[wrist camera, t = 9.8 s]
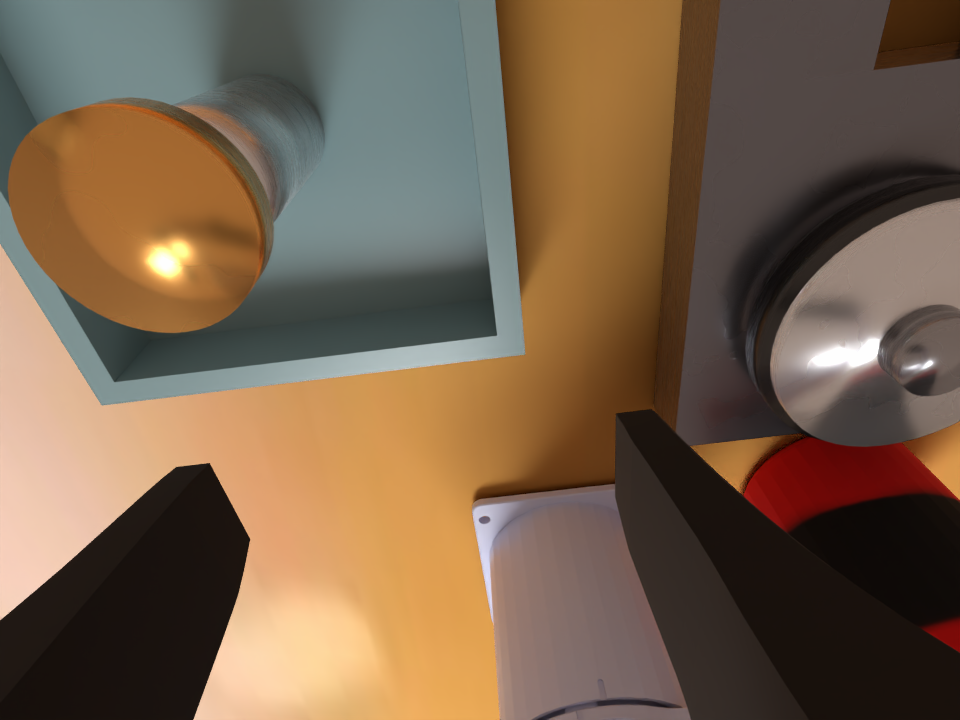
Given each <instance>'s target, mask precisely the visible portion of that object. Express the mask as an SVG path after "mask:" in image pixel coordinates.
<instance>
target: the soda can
mask: <svg viewBox="0 0 960 720" xmlns="http://www.w3.org/2000/svg"><path fill="white" fill-rule="evenodd" d="M743 496H744V497H745V498H746V499H747V500H748V501H749V502H750V503H752V504H753V505H754V506H755V507H756V508H758V509H759V510H760V511H761V512H762V513H763V514H765V515H766V516H767V517H768V518H769V519H770V520H772V521H773V522H774V523H775V524H777V525H778V526H779V527H780V528H782V529H783V530H784V531H785V532H787V533H788V534H789V535H790V536H791V537H793V538H794V539H795V540H796V541H798V542H799V543H800V544H801V545H803V546H804V547H805V548H807V549H808V550H809V551H811V552H812V553H813V554H814V555H816V556H817V557H818V558H820V559H821V560H822V561H824V562H825V563H826V564H828V565H829V566H830V567H832V568H833V569H834V570H836V571H837V572H839V573H840V574H841V575H843V576H844V577H846V578H847V579H848V580H850V581H851V582H853V583H854V584H855V585H857V586H858V587H860V588H861V589H862V590H864V591H865V592H867V593H868V594H869V595H871V596H872V597H874V598H875V599H877V600H878V601H880V602H881V603H883V604H884V605H886V606H887V607H889V608H890V609H892V610H893V611H895V612H896V613H898V614H899V615H901V616H902V617H904V618H905V619H907V620H908V621H910V622H911V623H913V624H915V625H916V626H918V627H920V628H921V629H923V630H924V631H926V632H928V633H929V634H931V635H932V636H934V637H936V638H937V639H939V640H940V641H942V642H944V643H945V644H947V645H949V646H950V647H952V648H953V649H955V650H957V651H958V652H960V500H959V499H958V498H957V497H956V496H955V495H954V494H953V493H952V492H951V491H950V490H949V489H948V488H947V487H946V486H945V485H944V484H943V483H942V482H941V481H940V480H939V479H938V478H937V477H936V476H935V475H934V474H933V473H932V472H931V471H930V470H929V469H928V468H927V467H926V466H925V465H924V464H923V463H922V462H921V461H920V460H919V459H918V458H917V457H916V456H915V455H914V454H913V453H912V452H911V451H910V450H909V449H908V448H907V447H905V446H904V445H903V444H902V443H901V442H900V443H895V444H889V445H882V446H868V447H861V446H846V445H840V444H834V443H831V442H827V441H822V440H819V439H815V438H812V437H806V438H804V439H801V440H799V441H797V442H794V443H792V444H790V445H789V446H787V447H785V448H784V449H782V450H780V451H778V452H777V453H776V454H774V455H773V456H772V457H771V458H769V459H768V460H767V461H765V463H764V464H763V465H762V466H761V467H760V468H759V469H758V470H757V471H756V472H755V474H754V475H753V477H752V478H751V479H750V481H749V483H748V485H747V488H746V490H745V493H744V495H743Z"/></svg>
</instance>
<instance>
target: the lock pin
mask: <svg viewBox="0 0 960 720" xmlns="http://www.w3.org/2000/svg"><path fill="white" fill-rule="evenodd" d="M324 147H325V135H324V129H323V125H322V121H321V119H320V116H319V114H318V112H317V110H316V108H315V107H314V105H313V104H312V102H311V101H310V100H309V98H308V97H307V96H306V95H305V94H304V93H303V92H302V91H301V90H299V89H298V88H297V87H296V86H294V85H293V84H291V83H290V82H288V81H286V80H284V79H281V78H279V77H276V76H272V75H266V74H253V75H249V76H245V77H242V78H240V79H237V80H235V81H232V82H229V83H227V84H224V85H222V86H219V87H217V88H214V89H211V90H209V91H206V92H204V93H201V94H199V95H196V96H193V97H191V98H188V99H186V100H183V101H180V102H178V103H175V104H173V105H170V104H167V103H164V102H160V101H155V100H150V99H144V98H132V97H127V98H113V99H109V100H104V101H99V102H96V103H93V104H89V105H86V106H83V107H79V108H76V109H73V110H69V111H66V112H63V113H60V114H58V115H55V116H53V117H50V118H48V119H47V120H45V121H43V122H42V123H40V124H39V125H37V126H36V127H35V128H34V129H33V130H31V131H30V132H29V133H28V134H27V135H26V136H25V138H24V139H23V141H22V142H21V143H20V145H19V146H18V148H17V150H16V152H15V154H14V157H13V159H12V162H11V166H10V170H9V178H8V195H9V204H10V208H11V212H12V216H13V220H14V222H15V225H16V227H17V230H18V233H19V235H20V236H21V238H22V240H23V242H24V244H25V246H26V248H27V249H28V251H29V252H30V254H31V255H32V257H33V258H34V260H35V261H36V262H37V264H38V265H39V266H40V267H41V268H42V270H43V271H44V272H45V273H46V274H47V275H48V276H49V277H50V278H51V279H52V280H53V281H54V282H55V283H56V284H57V285H58V286H59V287H60V288H61V289H62V290H63V291H65V292H66V293H67V294H68V295H69V296H71V297H72V298H73V299H75V300H76V301H78V302H79V303H81V304H82V305H84V306H85V307H87V308H89V309H90V310H92V311H94V312H96V313H97V314H99V315H101V316H103V317H106V318H108V319H110V320H112V321H115V322H117V323H120V324H123V325H126V326H129V327H133V328H137V329H140V330H145V331H152V332H161V333H181V332H189V331H195V330H199V329H202V328H205V327H209V326H211V325H213V324H215V323H217V322H220V321H221V320H223V319H224V318H226V317H227V316H229V315H230V314H232V313H233V312H234V311H235V310H236V309H237V308H238V307H239V306H240V305H241V303H242V302H243V301H244V299H245V298H246V297H247V295H248V294H249V292H250V291H251V290H252V288H253V287H254V285H255V284H256V282H257V281H258V279H259V278H260V276H261V275H262V273H263V272H264V270H265V268H266V266H267V264H268V262H269V259H270V256H271V253H272V248H273V242H274V222H275V221H276V219H277V218H278V217H279V216H280V214H281V213H282V212H283V210H284V209H285V208H286V207H287V205H288V204H289V203H290V202H291V200H292V199H293V198H294V196H295V195H296V194H297V193H298V191H299V190H300V189H301V188H302V186H303V185H304V184H305V182H306V181H307V180H308V179H309V177H310V176H311V175H312V174H313V172H314V171H315V170H316V168H317V167H318V165H319V163H320V161H321V159H322V156H323V152H324Z"/></svg>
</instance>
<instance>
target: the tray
mask: <svg viewBox="0 0 960 720" xmlns="http://www.w3.org/2000/svg"><path fill="white" fill-rule="evenodd" d="M253 74H266V75H272V76H276V77H279V78H281V79H284V80H286V81H288V82H290V83H291V84H293V85H294V86H296V87H297V88H298V89H299V90H301V91H302V92H303V93H304V94H305V95H306V96H307V97H308V98H309V100H310V101H311V102H312V104H313V105H314V107H315V108H316V110H317V112H318V114H319V116H320V119H321V121H322V125H323V129H324V135H325V147H324V152H323V156H322V159H321V161H320V163H319V165H318V167H317V168H316V170H315V171H314V172H313V174H312V175H311V176H310V177H309V179H308V180H307V181H306V182H305V184H304V185H303V186H302V188H301V189H300V190H299V191H298V193H297V194H296V195H295V196H294V198H293V199H292V200H291V202H290V203H289V204H288V205H287V207H286V208H285V209H284V210H283V212H282V213H281V214H280V216H279V217H278V218H277V219H276V221H275V222H274V242H273V248H272V253H271V256H270V259H269V262H268V264H267V266H266V268H265V270H264V272H263V273H262V275H261V276H260V278H259V279H258V281H257V282H256V284H255V285H254V287H253V288H252V290H251V291H250V292H249V294H248V295H247V297H246V298H245V299H244V301H243V302H242V303H241V305H240V306H239V307H238V308H237V309H236V310H235V311H234V312H233V313H232V314H230V315H229V316H227V317H226V318H224V319H223V320H221V321H220V322H217V323H215V324H213V325H211V326H209V327H205V328H202V329H199V330H195V331H189V332H181V333H161V332H152V331H145V330H140V329H137V328H133V327H129V326H126V325H123V324H120V323H117V322H115V321H112V320H110V319H108V318H106V317H103V316H101V315H99V314H97V313H96V312H94V311H92V310H90V309H89V308H87V307H85V306H84V305H82V304H81V303H79V302H78V301H76V300H75V299H73V298H72V297H71V296H69V295H68V294H67V293H66V292H65V291H63V290H62V289H61V288H60V287H59V286H58V285H57V284H56V283H55V282H54V281H53V280H52V279H51V278H50V277H49V276H48V275H47V274H46V273H45V272H44V271H43V270H42V268H41V267H40V266H39V265H38V264H37V262H36V261H35V260H34V258H33V257H32V255H31V254H30V252H29V251H28V249H27V248H26V246H25V244H24V242H23V240H22V238H21V236H20V235H19V233H18V230H17V227H16V225H15V222H14V220H13V216H12V212H11V208H10V204H9V195H8V178H9V170H10V166H11V162H12V159H13V157H14V154H15V152H16V150H17V148H18V146H19V145H20V143H21V142H22V141H23V139H24V138H25V136H26V135H27V134H28V133H29V132H30V131H31V130H33V129H34V128H35V127H36V126H37V125H39V124H40V123H42V122H43V121H45V120H47V119H48V118H50V117H53V116H55V115H58V114H60V113H63V112H66V111H69V110H73V109H76V108H79V107H83V106H86V105H89V104H93V103H96V102H99V101H104V100H109V99H113V98H127V97H132V98H144V99H150V100H155V101H160V102H164V103H167V104H170V105H173V104H175V103H178V102H180V101H183V100H186V99H188V98H191V97H193V96H196V95H199V94H201V93H204V92H206V91H209V90H211V89H214V88H217V87H219V86H222V85H224V84H227V83H229V82H232V81H235V80H237V79H240V78H242V77H245V76H249V75H253ZM0 244H1V246H2V247H3V249H4V251H5V252H6V254H7V255H8V257H9V259H10V260H11V262H12V263H13V265H14V266H15V268H16V270H17V271H18V273H19V274H20V276H21V278H22V279H23V281H24V282H25V284H26V286H27V287H28V289H29V290H30V292H31V294H32V295H33V297H34V298H35V300H36V302H37V303H38V305H39V306H40V308H41V309H42V311H43V313H44V314H45V316H46V317H47V319H48V321H49V322H50V324H51V325H52V327H53V329H54V330H55V332H56V333H57V335H58V337H59V338H60V340H61V341H62V343H63V345H64V346H65V348H66V349H67V351H68V352H69V354H70V356H71V357H72V359H73V360H74V362H75V364H76V365H77V367H78V368H79V370H80V372H81V373H82V375H83V376H84V378H85V380H86V381H87V383H88V384H89V386H90V387H91V389H92V391H93V392H94V394H95V395H96V397H97V399H98V400H99V402H100V403H101V405H110V404H118V403H126V402H134V401H143V400H151V399H159V398H168V397H176V396H184V395H193V394H201V393H209V392H218V391H226V390H234V389H242V388H251V387H259V386H267V385H276V384H284V383H292V382H301V381H309V380H317V379H326V378H334V377H342V376H350V375H359V374H367V373H375V372H384V371H392V370H400V369H409V368H417V367H425V366H433V365H442V364H450V363H458V362H467V361H475V360H483V359H492V358H500V357H508V356H517V355H525V345H524V333H523V322H522V310H521V298H520V286H519V275H518V263H517V251H516V239H515V228H514V216H513V204H512V192H511V180H510V169H509V157H508V145H507V133H506V122H505V110H504V98H503V86H502V75H501V63H500V51H499V39H498V27H497V16H496V4H495V0H0Z"/></svg>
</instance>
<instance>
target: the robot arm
mask: <svg viewBox="0 0 960 720" xmlns="http://www.w3.org/2000/svg"><path fill="white" fill-rule="evenodd" d="M472 514H473V520H474V525H475V531H476V536H477V541H478V547H479V552H480V558H481V563H482V569H483V574H484V580H485V585H486V591H487V596H488V602H489V607H490V613H491V618H492V622H493V624H494V639H495V654H496V669H497V685H498V700H499V715H500V720H960V652H958V651H957V650H955V649H953V648H952V647H950V646H949V645H947V644H945V643H944V642H942V641H940V640H939V639H937V638H936V637H934V636H932V635H931V634H929V633H928V632H926V631H924V630H923V629H921V628H920V627H918V626H916V625H915V624H913V623H911V622H910V621H908V620H907V619H905V618H904V617H902V616H901V615H899V614H898V613H896V612H895V611H893V610H892V609H890V608H889V607H887V606H886V605H884V604H883V603H881V602H880V601H878V600H877V599H875V598H874V597H872V596H871V595H869V594H868V593H867V592H865V591H864V590H862V589H861V588H860V587H858V586H857V585H855V584H854V583H853V582H851V581H850V580H848V579H847V578H846V577H844V576H843V575H841V574H840V573H839V572H837V571H836V570H834V569H833V568H832V567H830V566H829V565H828V564H826V563H825V562H824V561H822V560H821V559H820V558H818V557H817V556H816V555H814V554H813V553H812V552H811V551H809V550H808V549H807V548H805V547H804V546H803V545H801V544H800V543H799V542H798V541H796V540H795V539H794V538H793V537H791V536H790V535H789V534H788V533H787V532H785V531H784V530H783V529H782V528H780V527H779V526H778V525H777V524H775V523H774V522H773V521H772V520H770V519H769V518H768V517H767V516H766V515H765V514H763V513H762V512H761V511H760V510H759V509H758V508H756V507H755V506H754V505H753V504H752V503H750V502H749V501H748V500H747V499H746V498H745V497H744V496H743V495H742V494H740V493H739V492H738V491H737V490H736V489H735V488H734V487H733V486H731V485H730V484H729V483H728V482H727V481H726V480H725V479H724V478H722V477H721V476H720V475H719V474H718V473H717V472H716V471H715V470H714V469H713V468H712V467H711V466H710V465H708V464H707V463H706V462H705V461H704V460H703V459H702V458H701V457H700V456H699V455H698V454H697V453H696V452H695V451H694V450H693V449H692V448H691V447H690V446H689V445H688V444H687V443H686V442H685V441H684V440H683V439H682V438H681V437H680V436H679V435H678V434H677V433H676V432H675V431H674V430H673V429H672V428H671V427H670V426H669V425H668V424H667V423H666V422H665V421H664V420H663V419H662V418H661V417H660V416H659V415H658V414H657V413H656V412H654V411H653V410H652V409H649V410H641V411H633V412H625V413H616V451H615V484H609V485H600V486H591V487H582V488H574V489H565V490H556V491H547V492H538V493H529V494H520V495H512V496H503V497H494V498H485V499H479V500H477V501H475V502H474V503H473V505H472ZM483 516H487V517H483ZM249 542H250V538H249V536H248V534H247V532H246V531H245V529H244V527H243V525H242V523H241V521H240V519H239V517H238V516H237V514H236V512H235V510H234V508H233V506H232V504H231V502H230V501H229V499H228V497H227V495H226V493H225V491H224V489H223V488H222V486H221V484H220V482H219V480H218V478H217V476H216V474H215V473H214V471H213V469H212V467H211V465H210V463H207V464H198V465H190V466H182V467H176V468H175V469H173V470H172V471H171V472H170V473H168V474H167V475H166V476H165V477H163V478H162V479H161V480H160V481H159V482H158V483H156V484H155V485H154V486H153V487H152V488H151V489H150V490H148V491H147V492H146V493H145V494H144V495H143V496H142V497H140V498H139V499H138V500H137V501H136V502H135V503H134V504H133V505H132V506H130V507H129V508H128V509H127V510H126V511H125V512H124V513H123V514H122V515H121V516H119V517H118V518H117V519H116V520H115V521H114V522H113V523H112V524H111V525H110V526H108V527H107V528H106V529H105V530H104V531H103V532H102V533H101V534H100V535H98V536H97V537H96V538H95V539H94V540H93V541H92V542H91V543H89V544H88V545H87V546H86V547H85V548H84V549H83V550H82V551H81V552H79V553H78V554H77V555H76V556H75V557H74V558H73V559H72V560H71V561H69V562H68V563H67V564H66V565H65V566H64V567H63V568H62V569H60V570H59V571H58V572H57V573H56V574H55V575H53V576H52V577H51V578H50V579H49V580H48V581H46V582H45V583H44V584H43V585H42V586H40V587H39V588H38V589H37V590H36V591H35V592H33V593H32V594H31V595H30V596H29V597H27V598H26V599H25V600H24V601H23V602H22V603H20V604H19V605H18V606H17V607H16V608H15V609H13V610H12V611H11V612H10V613H9V614H7V615H6V616H5V617H4V618H3V619H2V620H0V720H193V719H194V716H195V714H196V711H197V708H198V705H199V703H200V700H201V697H202V694H203V692H204V689H205V686H206V683H207V681H208V678H209V675H210V672H211V670H212V667H213V664H214V661H215V659H216V656H217V653H218V650H219V648H220V645H221V642H222V639H223V637H224V634H225V631H226V628H227V625H228V622H229V620H230V617H231V614H232V611H233V608H234V605H235V602H236V599H237V596H238V593H239V589H240V585H241V580H242V576H243V572H244V567H245V562H246V557H247V552H248V547H249Z"/></svg>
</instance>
